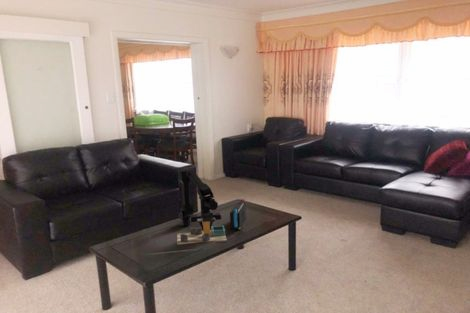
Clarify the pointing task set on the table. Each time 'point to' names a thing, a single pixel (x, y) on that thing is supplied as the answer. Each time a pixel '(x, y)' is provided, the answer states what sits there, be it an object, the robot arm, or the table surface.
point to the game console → (238, 215)
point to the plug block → (206, 227)
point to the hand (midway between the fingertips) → (206, 230)
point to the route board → (199, 238)
